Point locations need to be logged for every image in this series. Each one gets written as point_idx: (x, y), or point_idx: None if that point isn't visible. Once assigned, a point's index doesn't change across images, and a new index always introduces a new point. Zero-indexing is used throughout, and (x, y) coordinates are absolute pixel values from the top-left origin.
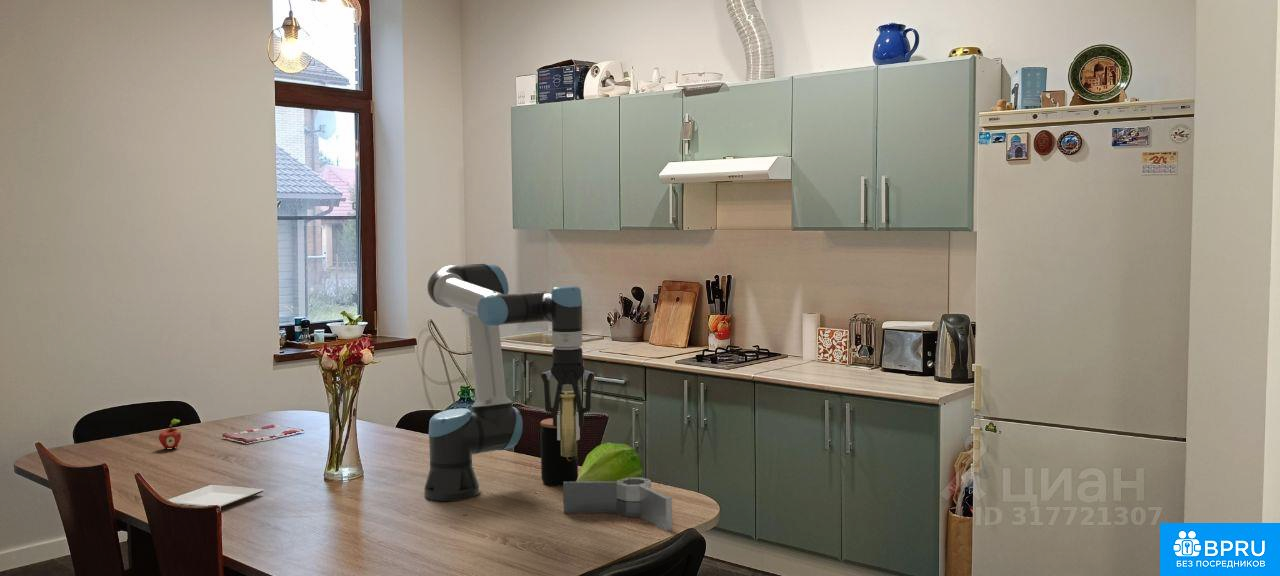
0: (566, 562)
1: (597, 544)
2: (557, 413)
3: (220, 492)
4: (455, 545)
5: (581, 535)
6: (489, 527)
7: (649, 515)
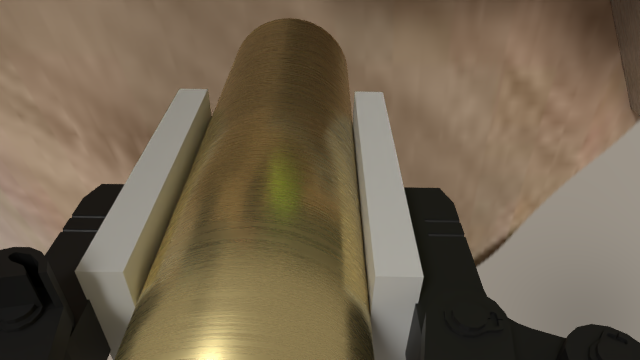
0: None
1: None
2: (105, 356)
3: None
4: (28, 200)
5: None
6: (37, 51)
7: (624, 15)
